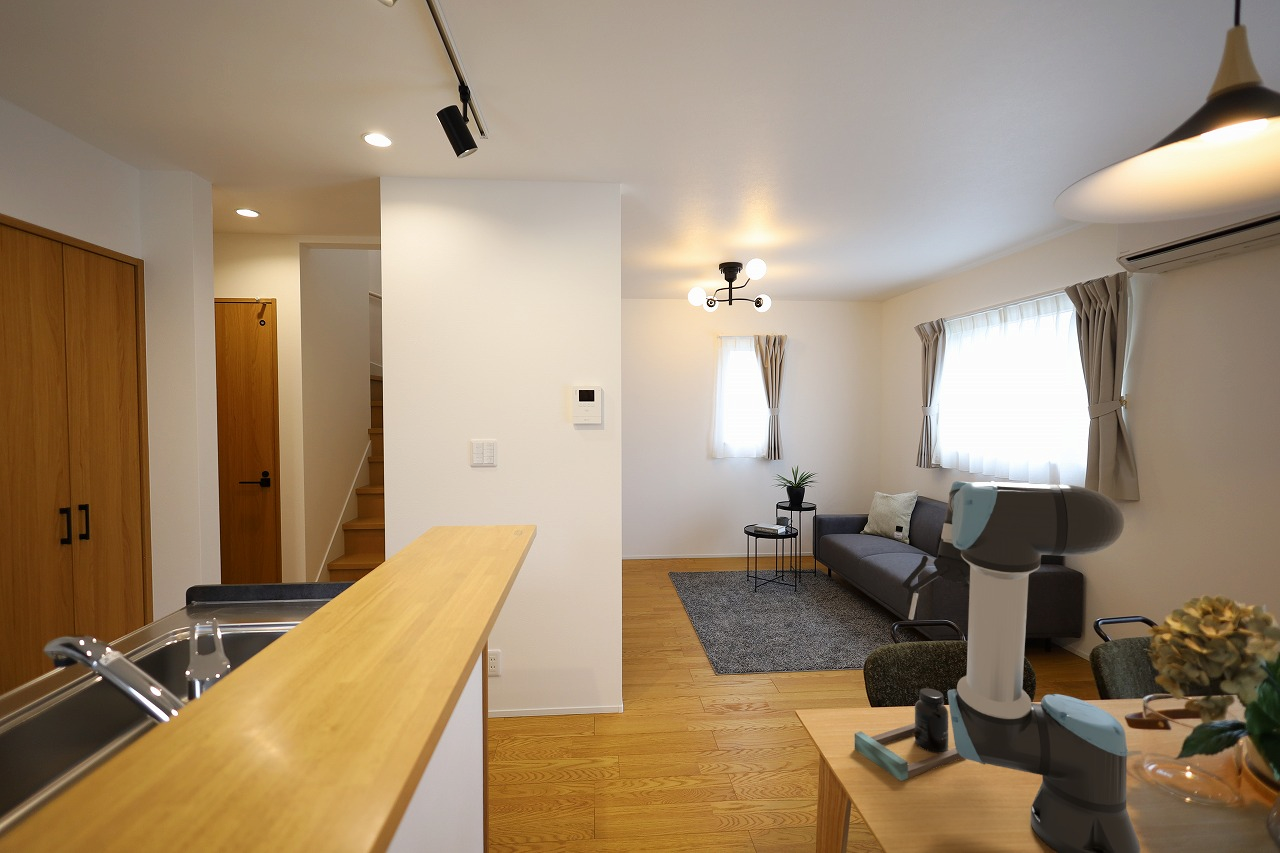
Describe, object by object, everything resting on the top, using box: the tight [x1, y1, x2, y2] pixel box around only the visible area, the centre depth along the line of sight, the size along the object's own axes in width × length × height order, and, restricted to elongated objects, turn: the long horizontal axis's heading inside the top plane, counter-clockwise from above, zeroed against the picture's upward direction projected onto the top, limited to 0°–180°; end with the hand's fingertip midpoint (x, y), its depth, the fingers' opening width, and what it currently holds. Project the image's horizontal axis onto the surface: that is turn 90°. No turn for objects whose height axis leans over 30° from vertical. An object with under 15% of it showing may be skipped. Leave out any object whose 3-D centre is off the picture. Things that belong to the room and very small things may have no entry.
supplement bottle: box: [914, 687, 949, 754], centre depth 127 cm, size 7×7×12 cm
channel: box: [854, 722, 964, 782], centre depth 124 cm, size 12×20×4 cm, turn 114°
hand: (940, 628), depth 136 cm, fingers open, 13 cm apart
